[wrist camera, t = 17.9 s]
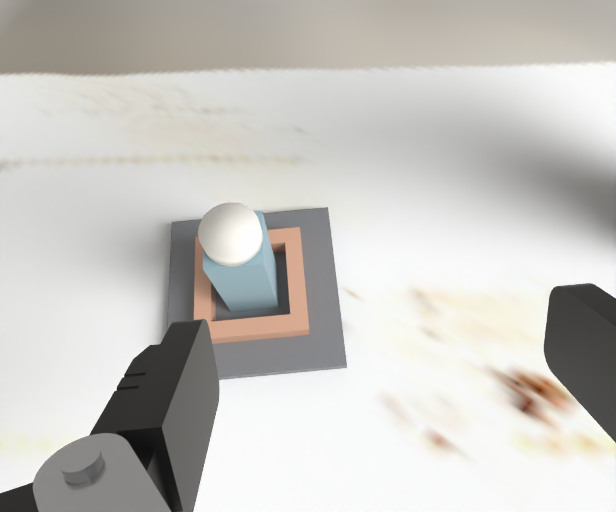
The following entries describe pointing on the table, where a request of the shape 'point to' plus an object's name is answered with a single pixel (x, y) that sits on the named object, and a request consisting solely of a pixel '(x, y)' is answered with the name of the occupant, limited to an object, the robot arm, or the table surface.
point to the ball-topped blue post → (239, 257)
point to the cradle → (268, 322)
